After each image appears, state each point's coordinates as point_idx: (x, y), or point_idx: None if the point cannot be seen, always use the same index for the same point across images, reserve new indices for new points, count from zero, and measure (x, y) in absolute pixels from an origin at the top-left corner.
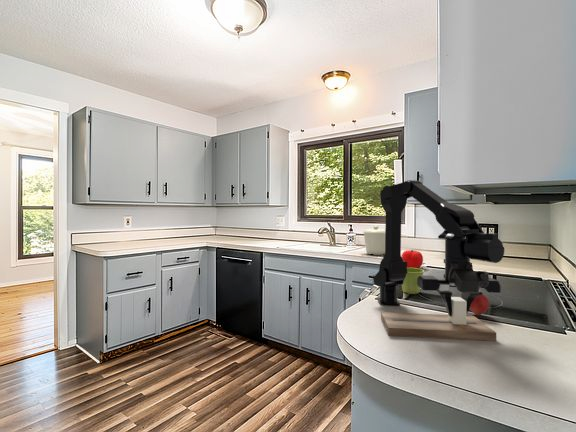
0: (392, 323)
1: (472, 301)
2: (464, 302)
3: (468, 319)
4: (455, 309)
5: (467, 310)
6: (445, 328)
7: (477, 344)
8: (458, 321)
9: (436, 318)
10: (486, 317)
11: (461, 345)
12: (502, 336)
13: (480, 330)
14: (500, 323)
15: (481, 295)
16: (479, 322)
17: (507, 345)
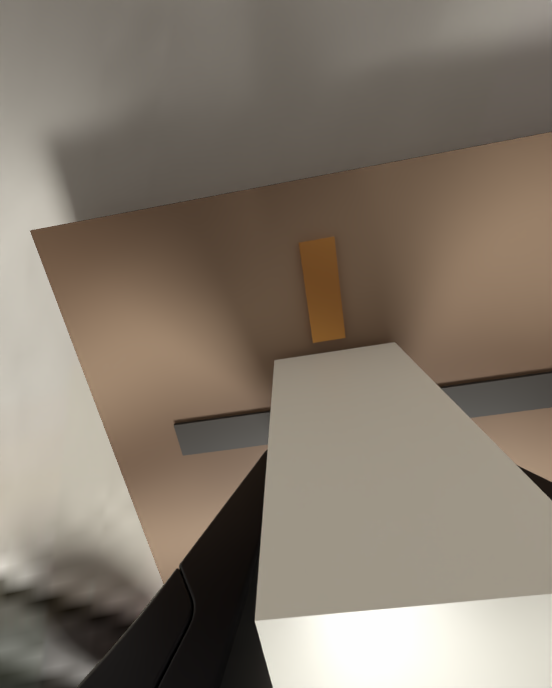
0: None
1: (99, 666)
2: (311, 578)
3: None
4: (452, 433)
5: (240, 497)
6: (522, 201)
7: (242, 89)
8: (357, 359)
9: None
10: (93, 643)
11: (395, 3)
12: (28, 347)
13: (169, 252)
14: (23, 572)
15: None
16: (146, 464)
17: (6, 153)
